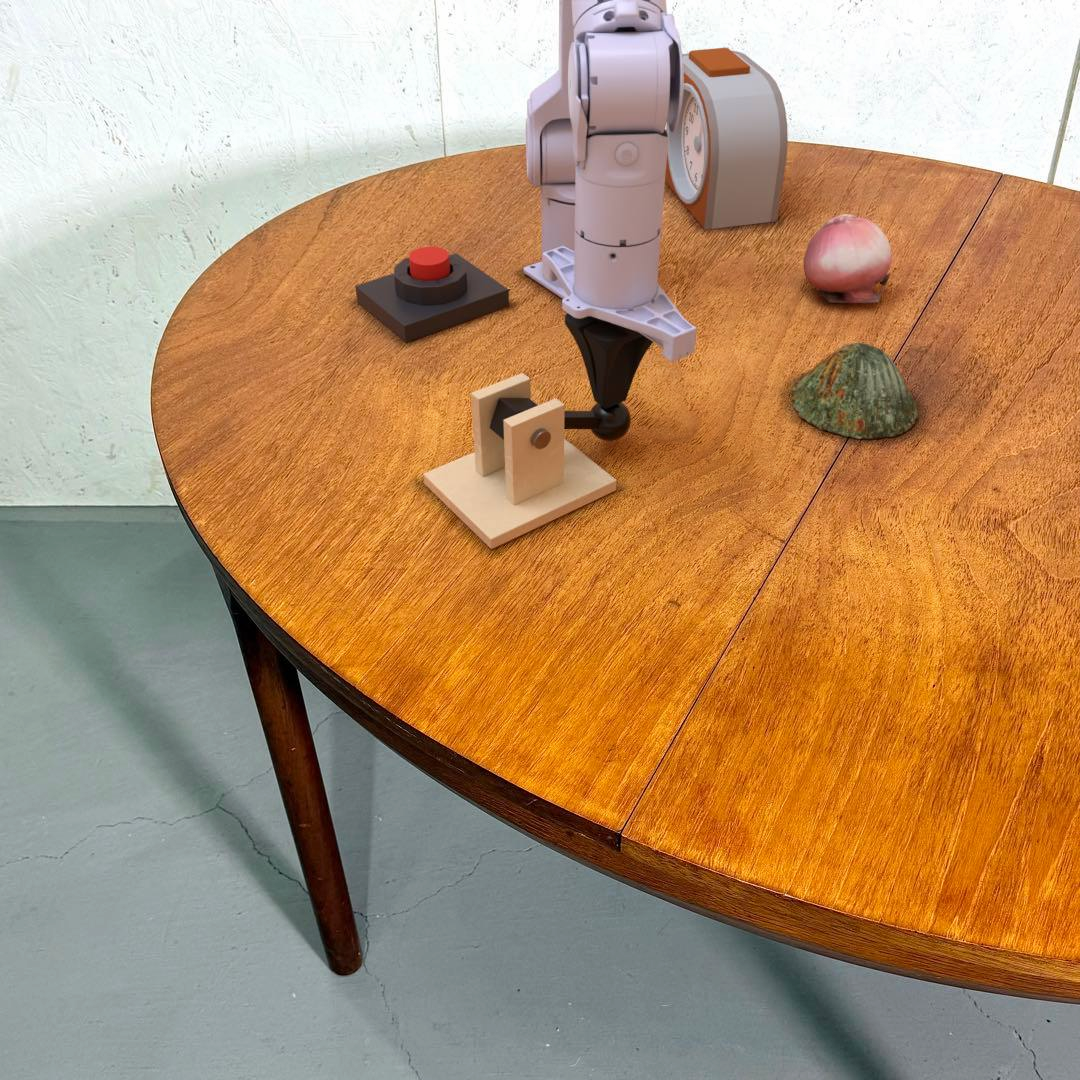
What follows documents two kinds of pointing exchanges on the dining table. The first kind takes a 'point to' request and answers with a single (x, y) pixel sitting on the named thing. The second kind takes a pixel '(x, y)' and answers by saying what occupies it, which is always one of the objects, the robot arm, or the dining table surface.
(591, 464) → the lever base
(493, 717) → the dining table surface
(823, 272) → the onion
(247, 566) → the dining table surface
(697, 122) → the alarm clock
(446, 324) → the control block
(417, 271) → the button
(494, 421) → the black lever handle
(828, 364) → the seashell
